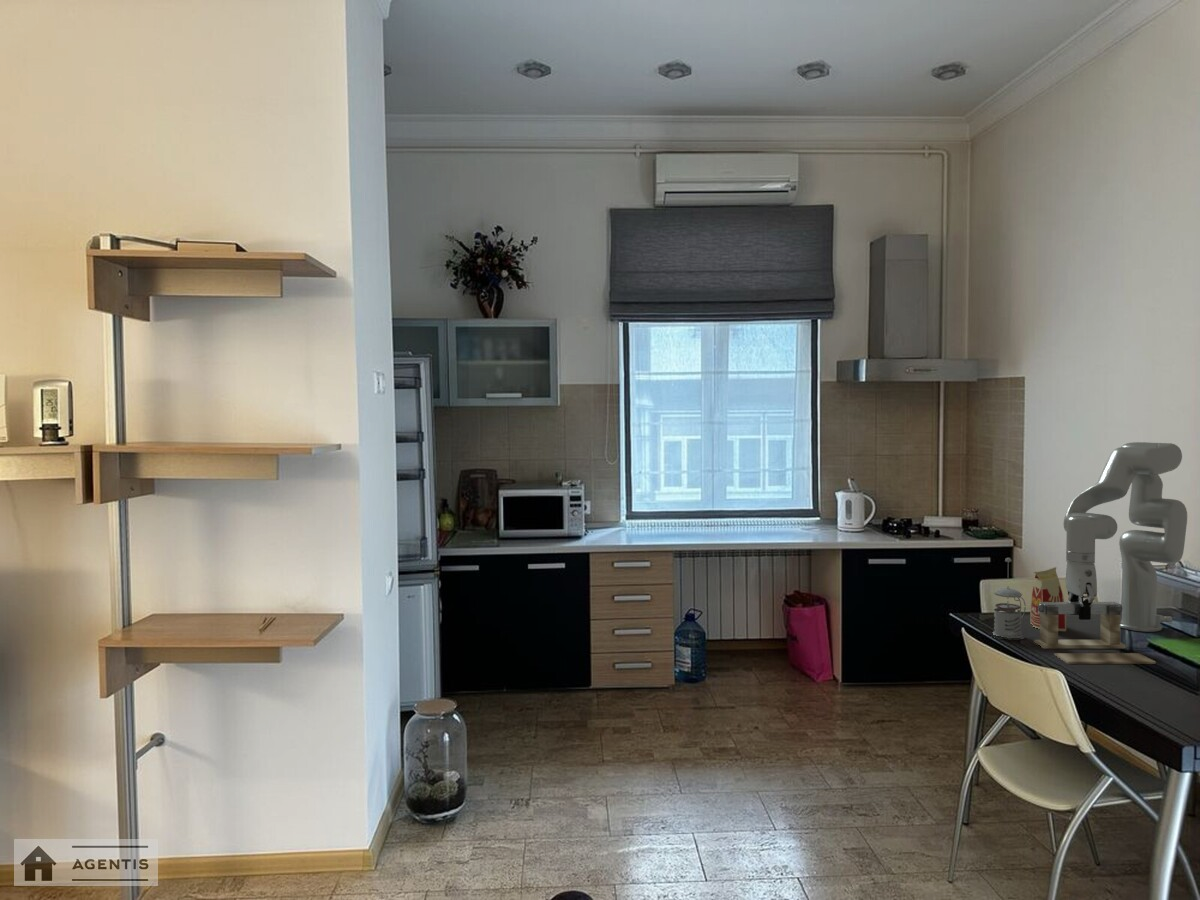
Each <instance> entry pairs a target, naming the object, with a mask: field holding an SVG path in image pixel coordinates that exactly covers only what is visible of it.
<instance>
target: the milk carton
mask: <svg viewBox="0 0 1200 900" xmlns="http://www.w3.org/2000/svg"><path fill="white" fill-rule="evenodd" d="M1033 573H1034V574H1035V577H1034V581H1033V587H1032V590H1031V591H1032V592H1031V604H1030V621H1029V622H1030V625H1031V624H1032V625H1033V626H1032V625H1031V626H1032V628H1033V627H1035V628H1034V629H1036V628H1038V629H1037V630H1039V629H1040V612H1039V611H1038V604H1040V602H1065V600H1064V599H1065V598H1064V594H1063V590H1062V587H1061V583H1060V579H1059V577H1058V574H1057V566H1053V567H1051V568H1048V569H1044V570H1040V571H1034V572H1033ZM1058 632H1067V614H1058Z"/></svg>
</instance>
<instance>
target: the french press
mask: <svg viewBox="0 0 1200 900" xmlns="http://www.w3.org/2000/svg"><path fill="white" fill-rule="evenodd" d="M1012 561H1013V560H1012V559H1011V557H1006V558H1005V560H1004V562H1006V563H1007V577H1010V576H1009V569H1010V568H1009V566H1010V565H1009V563H1011V562H1012ZM993 594H994V595H995V596H998V597H1003V598H1013V600H1014V601H1015V602H1019V604H1015V603H1008V602H1007V603H1006V602H1004V603H1003V602H1002V603H996V604H995V607H996V608H994V611H993V612H994V613H993V616H994V617H993V621H994V622H993V629H994V630H993V632H992V633H993V635H996V636H1001V637H1007V638H1020V637H1022V636H1024V635H1023V634H1022V619H1023V618H1024V616H1025V613H1026V608H1024V610H1023V614H1022V603H1021V600H1022V601H1023V604H1024V605H1026V602H1025V599H1024V598H1023V597H1022V596H1023V593H1022V592H1021V591H1019V590H1017V589H1015V588H1011V587H1004V588H999V589H996V590H994V592H993ZM1016 610H1017V612H1016Z"/></svg>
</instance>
